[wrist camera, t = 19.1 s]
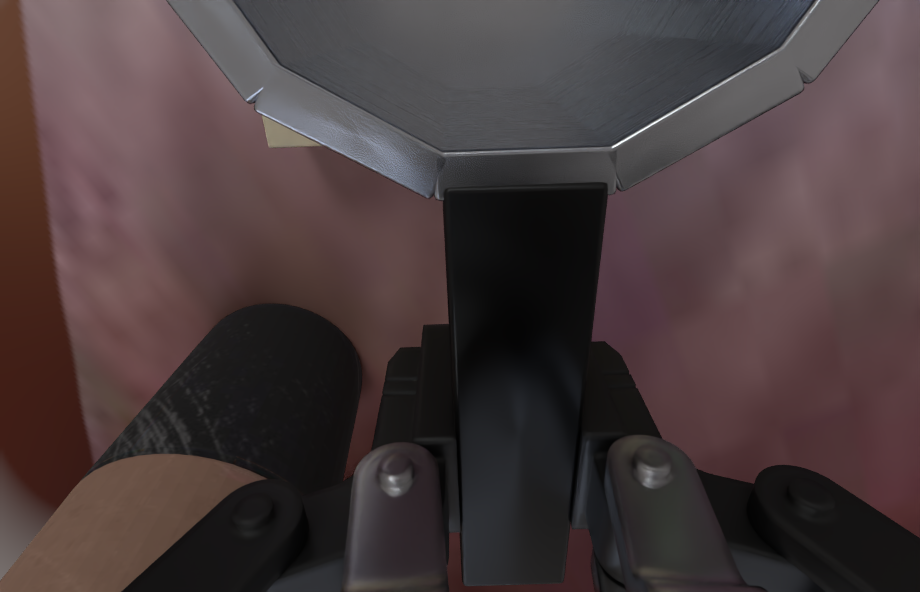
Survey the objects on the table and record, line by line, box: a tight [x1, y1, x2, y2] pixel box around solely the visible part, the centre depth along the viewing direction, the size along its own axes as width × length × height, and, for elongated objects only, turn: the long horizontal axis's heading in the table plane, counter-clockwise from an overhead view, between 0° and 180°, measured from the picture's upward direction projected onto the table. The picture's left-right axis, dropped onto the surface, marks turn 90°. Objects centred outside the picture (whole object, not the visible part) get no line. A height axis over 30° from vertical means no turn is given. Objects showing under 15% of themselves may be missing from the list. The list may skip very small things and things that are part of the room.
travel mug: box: [0, 304, 362, 592], centre depth 14 cm, size 8×8×20 cm
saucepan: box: [166, 0, 879, 586], centre depth 9 cm, size 8×16×6 cm, turn 2°
